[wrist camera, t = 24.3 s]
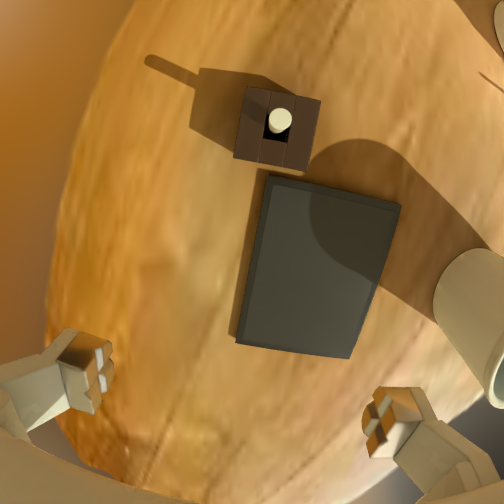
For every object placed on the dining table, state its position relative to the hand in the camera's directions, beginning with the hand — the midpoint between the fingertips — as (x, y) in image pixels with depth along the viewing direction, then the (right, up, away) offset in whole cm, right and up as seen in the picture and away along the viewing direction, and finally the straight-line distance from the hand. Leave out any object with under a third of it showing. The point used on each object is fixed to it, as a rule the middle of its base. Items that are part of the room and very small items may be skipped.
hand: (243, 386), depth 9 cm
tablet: (+8, +1, +30) cm, 31 cm away
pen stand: (+3, +17, +25) cm, 30 cm away
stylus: (+3, +17, +25) cm, 30 cm away
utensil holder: (+32, -2, +30) cm, 44 cm away
